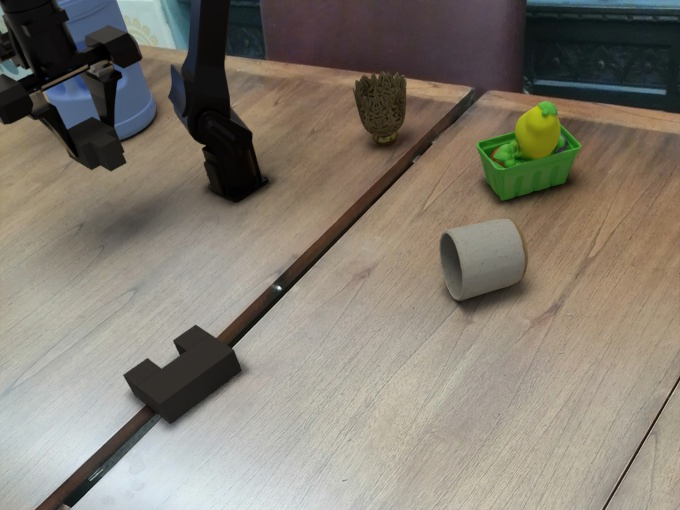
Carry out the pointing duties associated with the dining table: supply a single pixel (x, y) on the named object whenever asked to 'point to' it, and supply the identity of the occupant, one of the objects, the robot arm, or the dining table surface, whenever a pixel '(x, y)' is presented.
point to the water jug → (132, 90)
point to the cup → (381, 105)
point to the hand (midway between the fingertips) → (93, 146)
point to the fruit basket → (529, 154)
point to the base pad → (184, 374)
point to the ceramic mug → (482, 257)
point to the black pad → (97, 145)
